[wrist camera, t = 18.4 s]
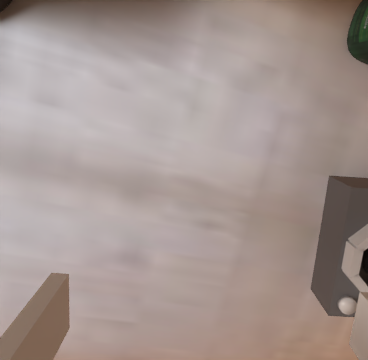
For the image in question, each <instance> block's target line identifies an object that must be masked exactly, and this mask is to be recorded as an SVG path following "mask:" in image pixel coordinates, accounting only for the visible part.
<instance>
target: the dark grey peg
mask: <svg viewBox="0 0 368 360" xmlns="http://www.w3.org/2000/svg"><path fill="white" fill-rule="evenodd" d="M361 267H362V269H363V270H364V271H365V272H366V273H367V274H368V248H367V249H366V250H364V251H363V256H362V262H361Z"/></svg>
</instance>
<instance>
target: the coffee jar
mask: <svg viewBox="0 0 368 360" xmlns="http://www.w3.org/2000/svg"><path fill="white" fill-rule="evenodd" d="M347 45H348V49H349V51H350V53H351V55H352V56H353V57H354V58H356V59H357V60H359V61H361V62H364V63H366V64H368V0H363V1H362V2H361V3H360V5H359V6H358V8H357V10H356V12H355V14H354V16H353V19H352V22H351V25H350V28H349V32H348V38H347Z"/></svg>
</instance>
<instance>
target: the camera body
mask: <svg viewBox="0 0 368 360" xmlns="http://www.w3.org/2000/svg"><path fill="white" fill-rule="evenodd" d="M367 248H368V178H355V177H339V176H329V180H328V187H327V193H326V199H325V205H324V211H323V217H322V223H321V229H320V235H319V242H318V248H317V254H316V260H315V266H314V272H313V278H312V284H311V290H312V291H313V293H314V294H315V296H316V298H317V299H318V301H319V302H320V304H321V305H322V307H323V308H324V310H325V311H326V313H327V314H328V316H343V317H355V313H356V308H357V303H358V298H359V293H360V292H368V274H367V273H366V272H365V271H364V270H363V269H362V267H361V262H362V256H363V251H364V250H366V249H367Z"/></svg>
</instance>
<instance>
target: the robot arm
mask: <svg viewBox="0 0 368 360" xmlns="http://www.w3.org/2000/svg"><path fill="white" fill-rule="evenodd" d="M11 1H12V0H0V12H1V11H2V10H3V9H4V8H5V7H7V6H8V5H9V4H10V2H11ZM68 330H69V274H59V273H51V274H50V276H49V277H48V278H47V279H46V281H45V282H44V283H43V284H42V286H41V287H40V288H39V290H38V291H37V292H36V293H35V295H34V296H33V297H32V298H31V300H30V301H29V302H28V303H27V305H26V306H25V307H24V309H23V310H22V311H21V312H20V314H19V315H18V316H17V317H16V319H15V320H14V321H13V322H12V324H11V325H10V326H9V328H8V329H7V330H6V331H5V333H4V334H3V335H2V336H1V338H0V360H53V359H54V357H55V355H56V353H57V351H58V349H59V347H60V345H61V343H62V341H63V339H64V337H65V335H66V333H67V332H68ZM349 345H350V347H351V348H352V350H353V351H354V353H355V354H356V356H357V357H358V359H359V360H368V292H360V293H359V298H358V303H357V308H356V313H355V318H354V323H353V328H352V333H351V338H350V343H349Z"/></svg>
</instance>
